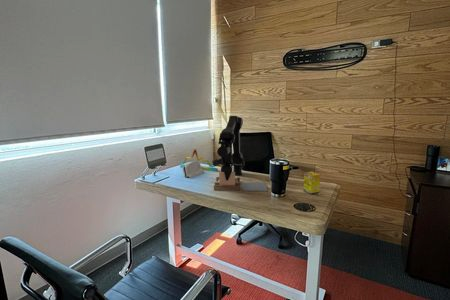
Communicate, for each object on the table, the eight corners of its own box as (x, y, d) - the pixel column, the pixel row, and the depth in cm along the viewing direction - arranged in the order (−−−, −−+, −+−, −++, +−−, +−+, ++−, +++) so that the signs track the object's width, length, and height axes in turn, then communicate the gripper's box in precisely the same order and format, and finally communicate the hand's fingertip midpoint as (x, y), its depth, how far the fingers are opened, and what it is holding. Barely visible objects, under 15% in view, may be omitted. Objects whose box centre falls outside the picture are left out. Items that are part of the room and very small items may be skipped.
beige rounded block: (189, 178, 161) (185, 164, 161) (184, 179, 163) (180, 165, 163) (204, 172, 175) (200, 158, 175) (199, 173, 177) (195, 160, 177)
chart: (217, 170, 179) (217, 150, 176) (215, 171, 176) (215, 151, 174) (182, 166, 191) (182, 147, 188) (180, 167, 188) (179, 148, 185)
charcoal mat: (242, 183, 151) (242, 182, 151) (264, 183, 150) (264, 182, 150) (242, 191, 137) (242, 190, 137) (267, 191, 137) (267, 190, 137)
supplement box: (303, 191, 137) (304, 172, 135) (311, 189, 139) (312, 171, 137) (310, 194, 132) (311, 175, 130) (319, 193, 134) (320, 174, 132)
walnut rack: (216, 180, 156) (216, 177, 155) (239, 181, 155) (239, 177, 155) (213, 190, 139) (213, 186, 139) (240, 190, 138) (240, 186, 138)
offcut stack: (218, 181, 154) (218, 174, 153) (237, 181, 154) (237, 174, 153) (218, 184, 150) (217, 177, 149) (237, 184, 149) (237, 177, 148)
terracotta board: (219, 184, 143) (219, 171, 141) (234, 184, 142) (235, 171, 141) (219, 186, 140) (219, 172, 139) (234, 186, 140) (234, 172, 138)
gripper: (214, 150, 147) (214, 174, 150) (211, 156, 129) (211, 184, 132) (232, 150, 147) (232, 174, 150) (232, 157, 128) (232, 185, 131)
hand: (227, 179), depth 141 cm, fingers closed on terracotta board, 2 cm apart
